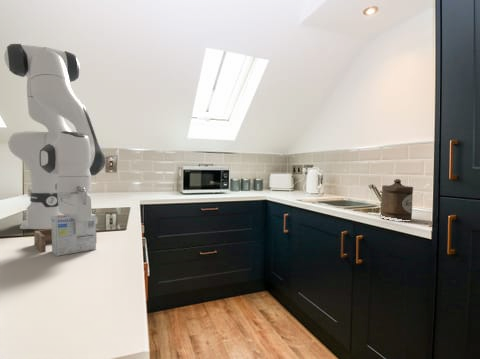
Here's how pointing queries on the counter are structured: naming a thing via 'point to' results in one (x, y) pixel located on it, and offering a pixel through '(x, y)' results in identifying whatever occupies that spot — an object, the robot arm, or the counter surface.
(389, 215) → the wooden container
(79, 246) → the light bulb box
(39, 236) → the shelf bay
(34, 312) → the counter surface
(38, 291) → the counter surface
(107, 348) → the counter surface
